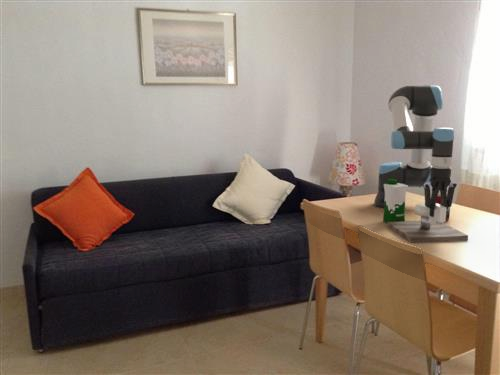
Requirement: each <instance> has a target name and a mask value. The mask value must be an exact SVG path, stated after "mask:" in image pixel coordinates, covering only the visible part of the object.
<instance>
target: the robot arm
mask: <svg viewBox="0 0 500 375" xmlns="http://www.w3.org/2000/svg"><path fill="white" fill-rule="evenodd" d="M387 104H388V110H389V111H390V112H391V115H392V116H391V117H392V121H393V122H392V123H393V128H394V130H393V131H392V132H391V135H390V147H391V148H392V149H393V150H410V158H409V159H408V160H407V161H406V164H403V162H401V161H391V162H385V163H382V164H381V163H380V165H379V167H378V180H377V181H378V184H377V193H376V195H375V198H374V200H373V205H374V206H375V207H377V208H382V209H384V203H385V190H384V184H387V183H388V179H397V183H400V184H404V185H408V188H419V189H420V188H423V190H424V203H425V206H426V207H428V208H430V213H429V215H430V216H431V224H433V225H436V214H437V209H435V206H436V201H437V196H438V194H441V205H442V206H444V207H447V208H446V209H448V207H450V208H451V207H452V204H453V199H454V194H455V190H456V187H457V185H458V184H457V183H456V182H453V181H452V180H451V177H452V174H451V173H452V168H451V167H452V163H453V161H452V160H453V149H454V140H455V139H454V138H455V130H454V128H452V127H435V128H434V129H433V124H434V123H433V122H434V117H436V116H437V115H438V113H439V112H438V111H441V110H442V109H443V92H442V89H441V87H440V86H439V85H430V84H429V85H428V84H427V85H426V84H425V85H405V86H402V87H399V88H398V89H397V90H395V91H394V92H393V93H392V94H391V95H390V97H389V99H388V103H387ZM410 111H411V113H412V115H413V116H414V121H413V122H412V118H411V113H410ZM430 150H431V160H430V161H429V155H430V154H429V153H430ZM447 188H448V189H447ZM446 194H447V195H446ZM438 223H439V224H441V225H443V223H444V222H438Z"/></svg>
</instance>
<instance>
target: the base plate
mask: <svg viewBox="0 0 500 375" xmlns="http://www.w3.org/2000/svg"><path fill="white" fill-rule="evenodd" d="M420 226H421V220H405V221H400V222H386V227H387V228H388V229H390V230H392V231H393V232H395V233H396V234H397V235H399V236H400V237H401V238H403V239H404V240H405V241H407V242H409V243H411V244H414V243H416V244H417V243H438V242H439V243H441V242H458V241H459V242H463V241H468V240H469V235H468V234H466V233H465V232H462V231H460V230H458V229H456V228H454V227H452V226H450V225H449V224H446V223H445V222H443V225H441V224H439V223H438V221H436V225H433V224H431V227H430V229H429V230H424V229H421V228H420Z"/></svg>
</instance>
